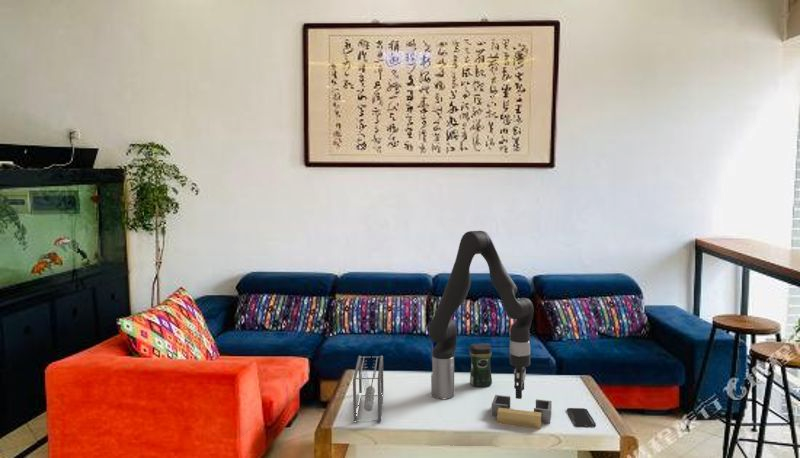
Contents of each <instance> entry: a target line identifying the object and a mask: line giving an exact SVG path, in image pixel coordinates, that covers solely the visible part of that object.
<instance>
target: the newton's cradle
mask: <svg viewBox="0 0 800 458" xmlns="http://www.w3.org/2000/svg"><path fill="white" fill-rule="evenodd" d="M365 358H366V359H367V358H370V356H361V355H358V357H357V361H356V365H355V369H354V374H353V378H352V402H353V404H352V405H353V409H352V410H353V411H352V412H353V422H354V421H357V420H358V418H357V416H356V414H357V413H356V408H357V380H358V394H359V393H362V392H363V387H364V390H365V391H364V392H365V393H364V394H365V395H364V396H365V397H364V401H363V409H364V410H365V411H366V412H370V411H372V410H373V407H374V402H375V401H374V400H375V395H374V394H376V393H375V392H376V389H375V387H374V386H373V382H374V380H377V394H378V395H377V420H378V421H379V422H378V421H377V422H378V423H381V422H382V419H381V416H382V415H383V406H382V404H384V390H385V389H384V356H383V355H380V356H373V358H375V359H376V360H374V364H375V365H374V366H373V370H369V369H368V370H367V366H365V365H366V363H365V362H366V361H365ZM378 359H379V364H378ZM377 365H378V373H377V372H376V371H377ZM368 371H369V372H373V373H372V377H368V375H367V374H368ZM376 373H377V377H376ZM357 376H358V377H357ZM369 380H371V384H369V383H370V381H369ZM381 393H382V394H381ZM362 394H363V393H362ZM382 395H383V396H382ZM358 406H359V405H358ZM382 417H383V416H382ZM357 422H358V421H357Z"/></svg>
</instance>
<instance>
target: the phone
mask: <svg viewBox="0 0 800 458" xmlns="http://www.w3.org/2000/svg"><path fill="white" fill-rule="evenodd" d="M566 412H567V414H568V416H569V418H570V419H571V422H572V423H573V426H575V427H577V428H595V427H597V423H596V422H595V420H594V419H593V417H592V416H591V414H590V411H588V409H587V408H585V407H584V408H583V407H581V408H580V407H579V408H578V407H575V408H574V407H567V409H566Z"/></svg>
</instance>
